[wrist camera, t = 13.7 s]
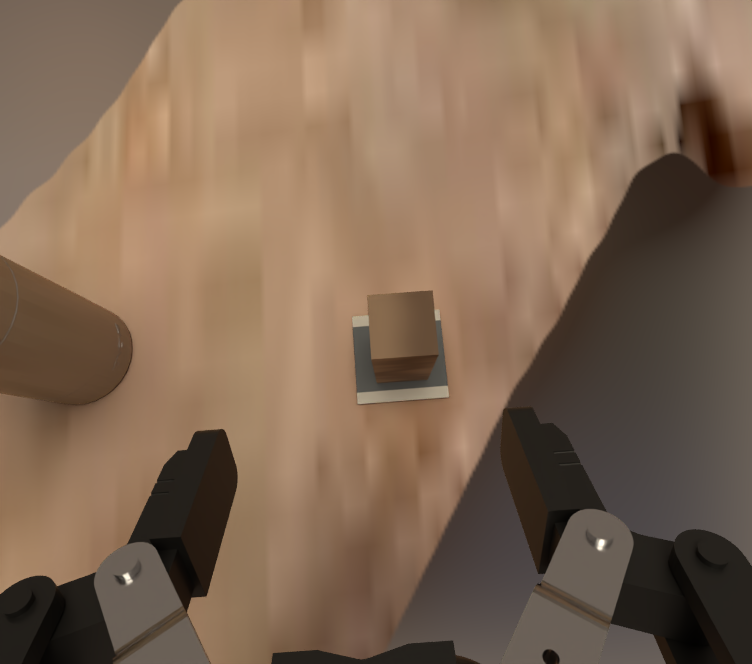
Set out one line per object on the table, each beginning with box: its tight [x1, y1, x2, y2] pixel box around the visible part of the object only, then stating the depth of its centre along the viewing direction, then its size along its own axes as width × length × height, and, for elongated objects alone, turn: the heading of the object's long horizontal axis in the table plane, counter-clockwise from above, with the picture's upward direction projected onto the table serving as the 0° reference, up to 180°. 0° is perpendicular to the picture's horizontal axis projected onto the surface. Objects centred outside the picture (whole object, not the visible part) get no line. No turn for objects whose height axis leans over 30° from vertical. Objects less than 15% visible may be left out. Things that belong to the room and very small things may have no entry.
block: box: [367, 291, 439, 383], centre depth 38 cm, size 4×4×11 cm
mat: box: [352, 310, 449, 404], centre depth 44 cm, size 8×8×1 cm
